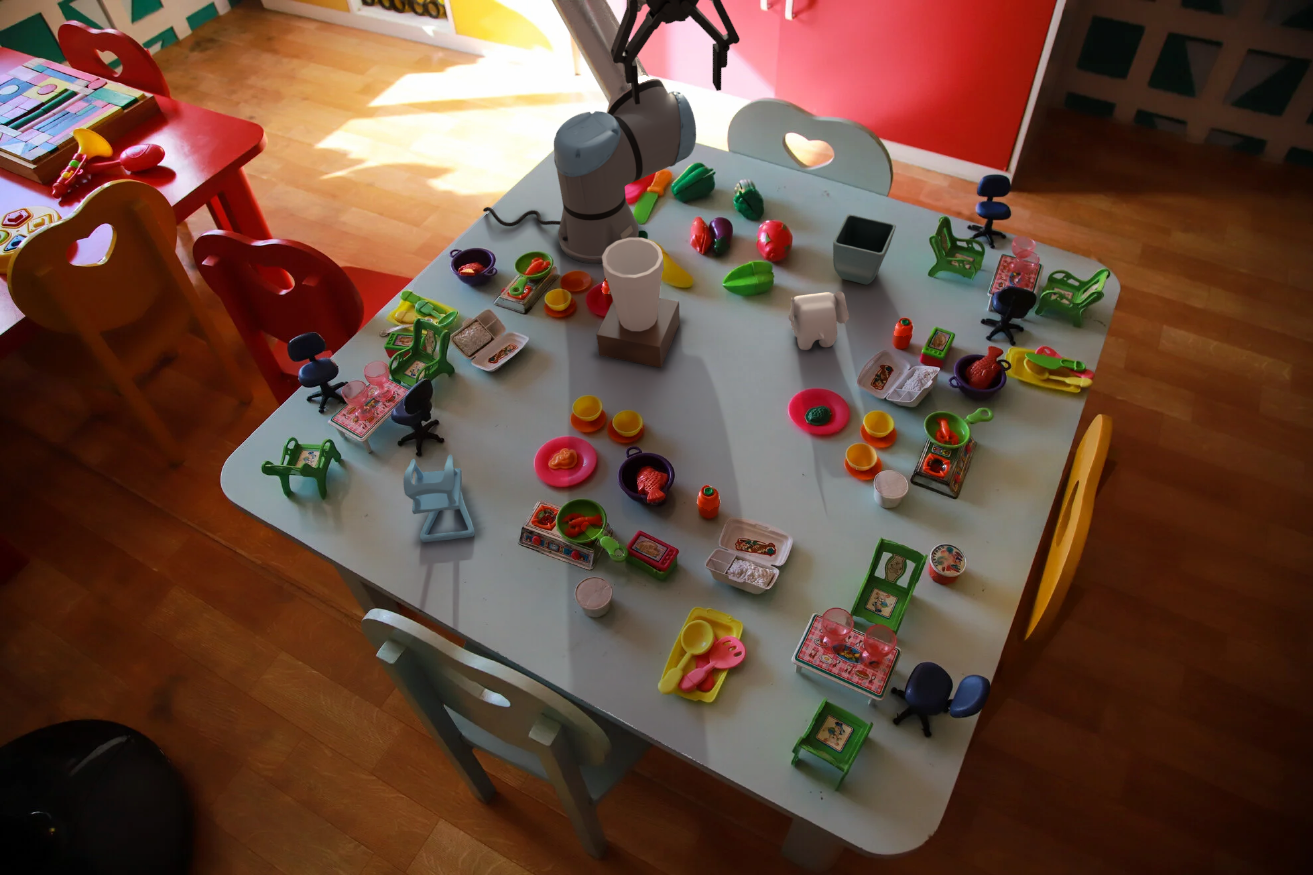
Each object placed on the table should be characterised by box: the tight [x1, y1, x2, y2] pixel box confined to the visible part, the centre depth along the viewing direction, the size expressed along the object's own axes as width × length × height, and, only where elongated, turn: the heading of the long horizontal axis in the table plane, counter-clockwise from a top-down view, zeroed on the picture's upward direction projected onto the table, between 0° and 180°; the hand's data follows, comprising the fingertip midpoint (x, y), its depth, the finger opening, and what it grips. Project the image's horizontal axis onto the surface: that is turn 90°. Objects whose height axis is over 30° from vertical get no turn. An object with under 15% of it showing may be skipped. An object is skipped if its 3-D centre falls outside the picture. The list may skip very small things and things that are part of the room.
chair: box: [403, 454, 476, 543], centre depth 116 cm, size 8×8×12 cm
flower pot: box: [832, 213, 897, 286], centre depth 144 cm, size 9×9×9 cm
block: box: [595, 297, 681, 368], centre depth 139 cm, size 11×11×5 cm
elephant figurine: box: [788, 291, 850, 351], centre depth 136 cm, size 10×12×9 cm
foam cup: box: [602, 237, 665, 331], centre depth 132 cm, size 10×9×13 cm
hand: (676, 93), depth 134 cm, fingers open, 13 cm apart
